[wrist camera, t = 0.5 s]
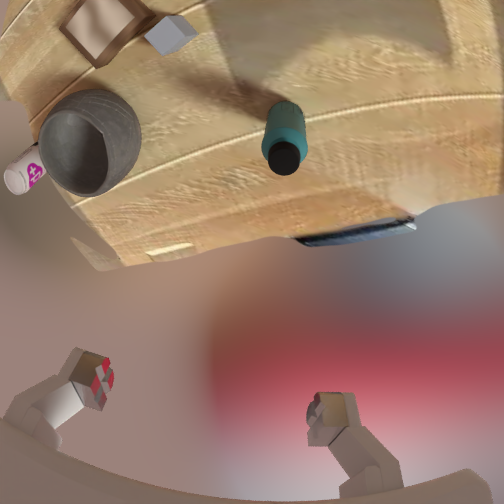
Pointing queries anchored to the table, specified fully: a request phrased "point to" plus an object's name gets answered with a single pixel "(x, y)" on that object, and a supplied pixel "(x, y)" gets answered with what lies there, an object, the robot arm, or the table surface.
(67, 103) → the bowl
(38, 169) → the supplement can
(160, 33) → the block
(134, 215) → the table surface
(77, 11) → the base
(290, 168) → the beverage bottle
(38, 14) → the table surface
